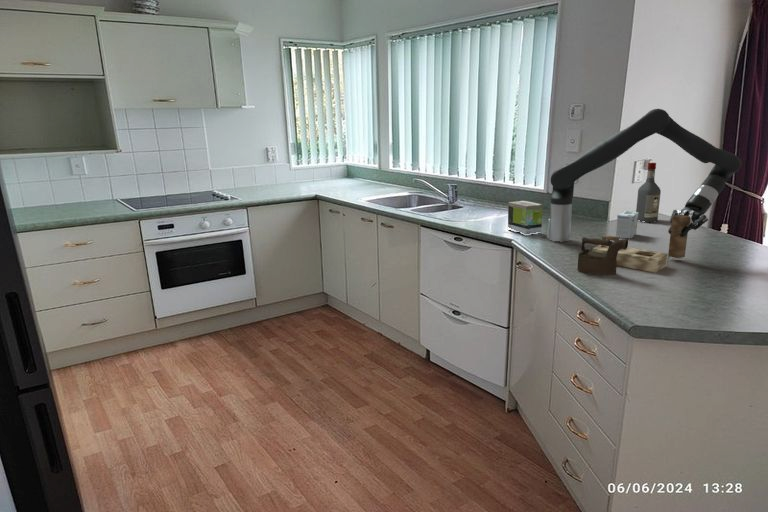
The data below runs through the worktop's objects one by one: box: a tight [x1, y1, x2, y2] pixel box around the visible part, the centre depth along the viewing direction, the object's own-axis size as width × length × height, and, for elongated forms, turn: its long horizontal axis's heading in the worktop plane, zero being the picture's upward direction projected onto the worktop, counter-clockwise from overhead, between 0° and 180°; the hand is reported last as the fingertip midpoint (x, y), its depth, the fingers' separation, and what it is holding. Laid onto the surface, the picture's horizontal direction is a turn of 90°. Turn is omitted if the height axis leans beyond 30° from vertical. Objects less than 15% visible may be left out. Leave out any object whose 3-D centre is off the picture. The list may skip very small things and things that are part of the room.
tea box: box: [507, 200, 544, 234], centre depth 246 cm, size 15×10×15 cm, turn 22°
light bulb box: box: [615, 210, 639, 240], centre depth 231 cm, size 11×7×11 cm, turn 141°
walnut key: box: [667, 215, 690, 259], centre depth 191 cm, size 4×4×16 cm
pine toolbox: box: [591, 234, 668, 274], centre depth 191 cm, size 24×10×10 cm, turn 43°
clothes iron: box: [577, 237, 629, 275], centre depth 182 cm, size 8×16×13 cm, turn 48°
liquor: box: [635, 162, 661, 223], centre depth 255 cm, size 9×9×30 cm
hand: (675, 234), depth 190 cm, fingers closed on walnut key, 4 cm apart
